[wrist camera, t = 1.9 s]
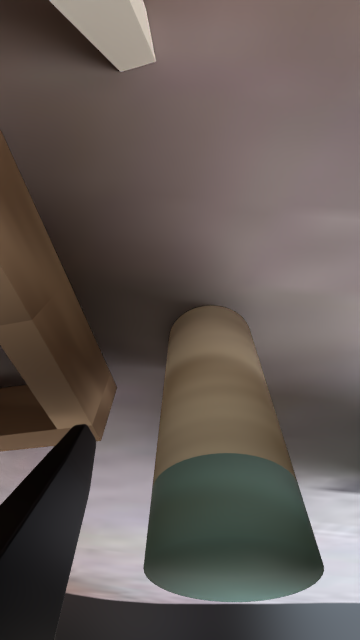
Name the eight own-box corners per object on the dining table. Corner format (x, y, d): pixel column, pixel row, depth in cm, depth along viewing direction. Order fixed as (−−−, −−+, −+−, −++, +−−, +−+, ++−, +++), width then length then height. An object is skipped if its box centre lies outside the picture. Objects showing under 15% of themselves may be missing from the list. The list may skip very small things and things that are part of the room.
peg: (253, 365, 13) (319, 600, 6) (178, 375, 14) (166, 603, 7) (247, 298, 11) (329, 528, 5) (160, 313, 12) (120, 540, 5)
